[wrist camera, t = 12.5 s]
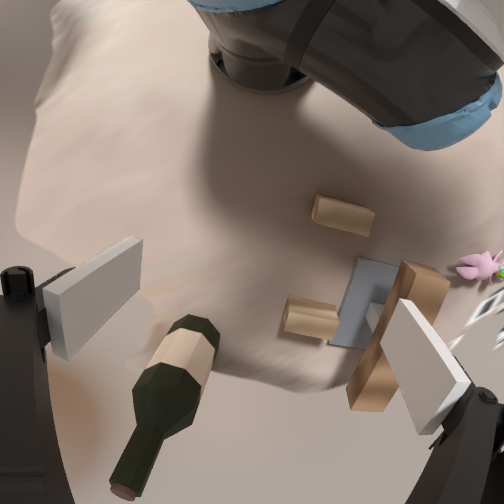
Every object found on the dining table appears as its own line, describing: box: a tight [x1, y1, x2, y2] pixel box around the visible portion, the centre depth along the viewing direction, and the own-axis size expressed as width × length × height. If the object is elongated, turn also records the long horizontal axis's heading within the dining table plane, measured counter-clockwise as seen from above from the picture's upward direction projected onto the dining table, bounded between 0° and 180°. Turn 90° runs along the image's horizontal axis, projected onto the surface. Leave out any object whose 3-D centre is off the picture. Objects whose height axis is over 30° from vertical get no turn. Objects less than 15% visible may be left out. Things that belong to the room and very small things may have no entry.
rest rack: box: [284, 194, 376, 340], centre depth 39 cm, size 18×7×5 cm, turn 168°
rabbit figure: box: [456, 250, 504, 286], centre depth 36 cm, size 6×6×15 cm
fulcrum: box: [328, 257, 399, 349], centre depth 39 cm, size 14×11×8 cm
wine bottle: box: [109, 314, 220, 501], centre depth 33 cm, size 8×8×30 cm
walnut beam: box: [346, 260, 451, 412], centre depth 33 cm, size 20×5×4 cm, turn 168°
